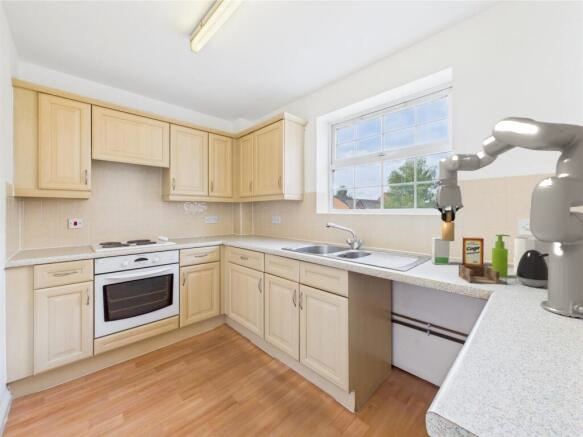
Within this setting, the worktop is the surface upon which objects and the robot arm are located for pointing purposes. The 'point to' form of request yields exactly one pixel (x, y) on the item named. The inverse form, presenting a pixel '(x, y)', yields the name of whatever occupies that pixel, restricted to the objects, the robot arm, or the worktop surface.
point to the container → (528, 248)
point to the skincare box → (440, 251)
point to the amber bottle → (448, 227)
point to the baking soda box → (472, 251)
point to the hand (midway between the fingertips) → (448, 220)
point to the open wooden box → (479, 274)
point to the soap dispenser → (500, 257)
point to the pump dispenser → (533, 269)
